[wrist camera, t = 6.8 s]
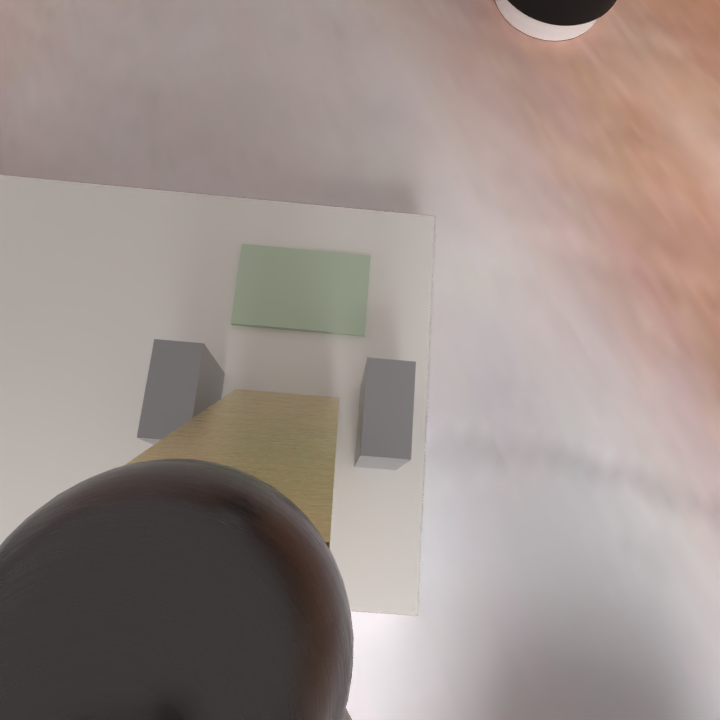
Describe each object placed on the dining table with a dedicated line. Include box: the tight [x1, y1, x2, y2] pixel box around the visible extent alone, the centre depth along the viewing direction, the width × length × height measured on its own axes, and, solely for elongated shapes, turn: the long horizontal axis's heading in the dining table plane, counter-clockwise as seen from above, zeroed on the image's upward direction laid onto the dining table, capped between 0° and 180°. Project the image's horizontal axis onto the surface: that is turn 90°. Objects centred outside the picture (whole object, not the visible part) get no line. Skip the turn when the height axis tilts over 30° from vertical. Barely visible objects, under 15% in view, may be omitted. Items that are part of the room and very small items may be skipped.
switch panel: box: [0, 175, 435, 616], centre depth 17 cm, size 12×24×6 cm, turn 86°
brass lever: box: [0, 389, 354, 720], centre depth 10 cm, size 3×3×12 cm
